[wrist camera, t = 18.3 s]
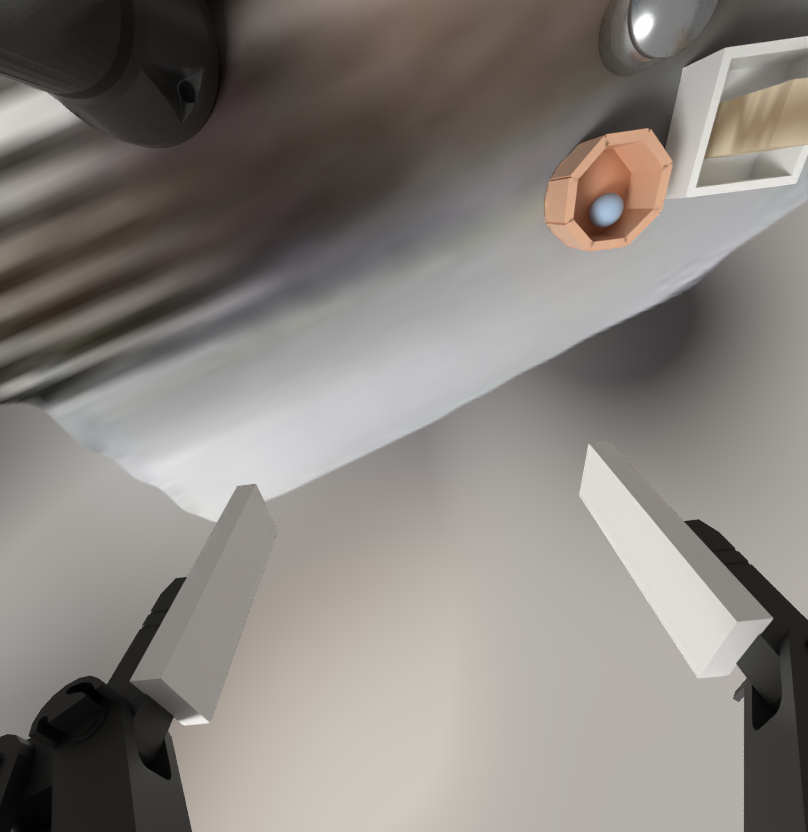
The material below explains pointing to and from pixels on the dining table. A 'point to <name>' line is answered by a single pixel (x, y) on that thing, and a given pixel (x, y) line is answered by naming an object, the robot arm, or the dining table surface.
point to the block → (761, 121)
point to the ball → (606, 210)
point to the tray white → (697, 109)
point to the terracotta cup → (608, 188)
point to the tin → (649, 31)
